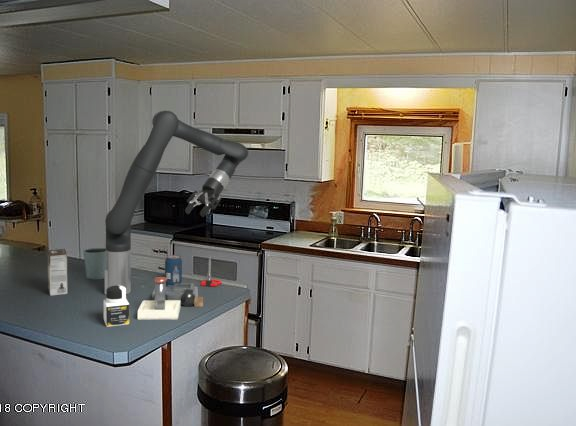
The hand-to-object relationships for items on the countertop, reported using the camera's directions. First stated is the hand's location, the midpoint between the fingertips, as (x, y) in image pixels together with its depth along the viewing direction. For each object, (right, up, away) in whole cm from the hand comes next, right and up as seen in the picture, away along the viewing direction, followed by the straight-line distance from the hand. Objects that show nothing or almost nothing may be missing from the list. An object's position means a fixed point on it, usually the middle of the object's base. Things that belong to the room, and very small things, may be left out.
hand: (193, 214), depth 188 cm
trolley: (-7, -33, -3) cm, 34 cm away
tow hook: (+3, -30, +23) cm, 38 cm away
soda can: (-13, -30, +20) cm, 38 cm away
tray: (-9, -35, -17) cm, 40 cm away
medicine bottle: (-21, -36, -26) cm, 49 cm away
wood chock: (+3, -34, -6) cm, 35 cm away
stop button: (-9, -34, -17) cm, 39 cm away
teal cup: (-48, -28, +26) cm, 61 cm away
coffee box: (-54, -31, +3) cm, 62 cm away
